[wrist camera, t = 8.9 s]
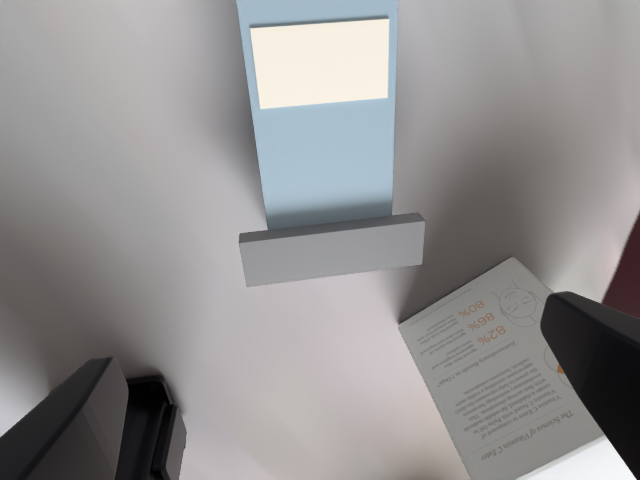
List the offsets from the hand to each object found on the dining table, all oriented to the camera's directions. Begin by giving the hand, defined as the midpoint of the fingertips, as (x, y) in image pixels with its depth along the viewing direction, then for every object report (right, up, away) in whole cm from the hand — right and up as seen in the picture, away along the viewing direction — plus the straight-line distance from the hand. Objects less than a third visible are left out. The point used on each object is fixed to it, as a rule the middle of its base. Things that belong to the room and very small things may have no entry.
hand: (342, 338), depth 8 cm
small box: (+9, -3, +17) cm, 19 cm away
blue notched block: (-1, +8, +9) cm, 12 cm away
